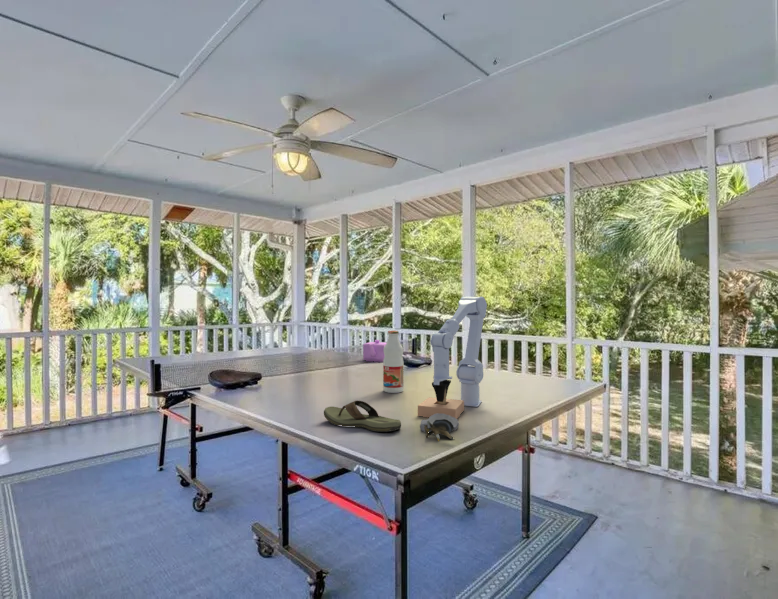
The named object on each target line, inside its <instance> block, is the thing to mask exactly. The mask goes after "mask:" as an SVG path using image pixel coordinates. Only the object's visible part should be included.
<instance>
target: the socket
mask: <svg viewBox="0 0 778 599" xmlns="http://www.w3.org/2000/svg"><path fill="white" fill-rule="evenodd" d="M463 411H464V412H465V406H464V400H461V399H452V398H446V405H441V404H437V398H436V397H430V396H428V397H427V398H426V399H424V400H423V401H422V402H420V403H419V404H418V405H417V417H419V416H423V417H422V418H428V417H430V416H432V415H434V414H437V413H439V414H446V415H449V416H451V417H454V418H456V419H457V420H458V418H460V416H461V415H462V414H463V413H464V412H463ZM462 412H463V413H462ZM461 413H462V414H461ZM460 414H461V415H460Z"/></svg>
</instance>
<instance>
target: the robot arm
mask: <svg viewBox="0 0 778 599" xmlns="http://www.w3.org/2000/svg"><path fill="white" fill-rule="evenodd" d="M487 309H488V303H487V301H486V299H485V297H484V296H465V295H464V296H462V297H461V298H460V299H459V301H458V307H457V309H456V311H455V313H454V314H453V316H452V317H451V318H448V319H447V320H445V322H444V324H442V326H441V328H440V329H439V330H438V332H435V333H433V334H432V336H431V338H430V339H431V340H429V341H430V345H431V348H432V352H433V377H432V378H433V381H432V382H431V386H432V387H433V390H434V394H435V398H437V402H443V400H444V393H445V389H446V397H447V396H448V390H449V387H450V384H451V383H452V379H453V376H451V375H450V348H451V347H452V346H453V342H454V341H453V340H454V337H455V335H456V334H457V333H458V331H459V330H460V323H461V322H462V321H463V320H464V319H465V318H468V319H469V321H470V322H469V326H468V328H469V329H468V334H467V342H466V349H465V355H464V358H463V359H461V360H460V361H459V362H458V367H457V368H456V374H455V375H456V378H457V380H459V383H460V400H464V407H475V408H476V407H479V406H480V405H481V403H482V400H480V384H481V382H482V381H483V380H484V364H483V363H482V362H481V361H480V360H479V352H480V345H481V341H482V332H483V324H484V319H485V318H486V315H487V314H486V313H487Z"/></svg>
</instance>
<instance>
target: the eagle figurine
mask: <svg viewBox="0 0 778 599" xmlns="http://www.w3.org/2000/svg"><path fill="white" fill-rule="evenodd" d="M427 423H428V425H429V426H430V428H428V426H427V425H424V426H425V427H424V429H425V432H424V433H425V438H426V439H427V438H429V437H430V436H431V435H434V436H435V438H436V439H437V442H439V441H440V435H443V436H445V437H447V438H449V440H453V437H454V436H453V435H451V434H450V432H451V433H452V432H453V431H452V430H454V427H453V425H452V423H451V422H450V421H448V420H446V419H442V420H441V419H440V420H435V421H434V422H433V424H431V423H430V422H429V421H427ZM431 430H432V431H431ZM428 431H430V432H429V433H428ZM433 433H434V434H433ZM439 434H440V435H439Z"/></svg>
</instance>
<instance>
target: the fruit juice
mask: <svg viewBox="0 0 778 599" xmlns="http://www.w3.org/2000/svg"><path fill="white" fill-rule="evenodd" d="M399 333H400V332H399V330H388V331H387V335H388V338H387V341H386V345H385V347H384V355H385V357H384V361H383V362H382V363H383V364H382V365H383V367H382V369H383V372H382V373H383V374H382V375H383V376H382V377H383V379H382V383H383V385H382V386H383V387H382V388H383V392H385V393H389V394H398V393H402V392H403V391H404V364H405V363H404V358H403V354H404V347H403V345H402V344H401V342H400V339H399Z"/></svg>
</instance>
